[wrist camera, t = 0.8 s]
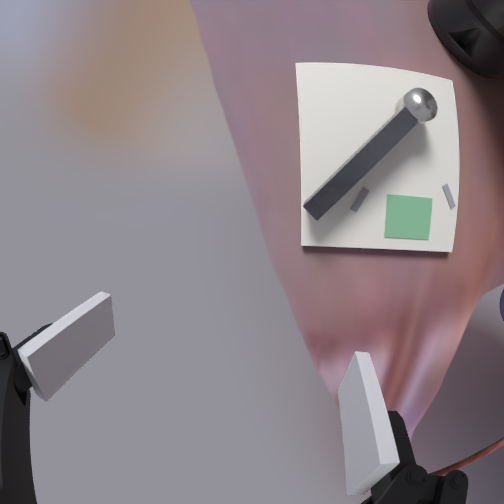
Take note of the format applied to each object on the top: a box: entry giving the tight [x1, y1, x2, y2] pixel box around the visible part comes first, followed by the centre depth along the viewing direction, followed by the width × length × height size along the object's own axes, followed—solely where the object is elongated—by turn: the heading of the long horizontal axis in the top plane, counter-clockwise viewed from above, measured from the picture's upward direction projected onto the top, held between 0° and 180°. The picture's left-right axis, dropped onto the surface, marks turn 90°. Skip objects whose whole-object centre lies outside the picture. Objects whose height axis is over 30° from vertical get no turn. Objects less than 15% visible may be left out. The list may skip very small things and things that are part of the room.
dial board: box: [296, 63, 459, 252], centre depth 27 cm, size 20×22×2 cm
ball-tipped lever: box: [303, 88, 438, 221], centre depth 24 cm, size 19×4×4 cm, turn 137°
